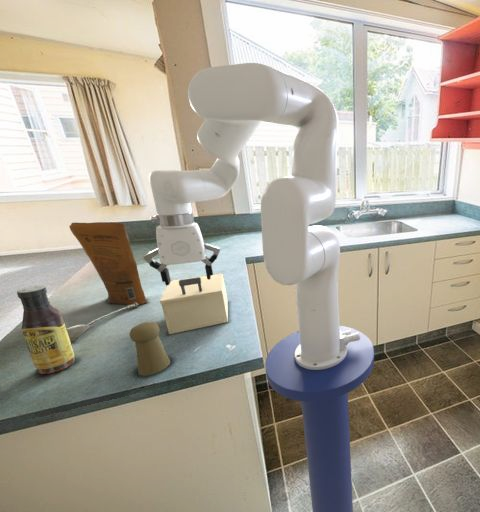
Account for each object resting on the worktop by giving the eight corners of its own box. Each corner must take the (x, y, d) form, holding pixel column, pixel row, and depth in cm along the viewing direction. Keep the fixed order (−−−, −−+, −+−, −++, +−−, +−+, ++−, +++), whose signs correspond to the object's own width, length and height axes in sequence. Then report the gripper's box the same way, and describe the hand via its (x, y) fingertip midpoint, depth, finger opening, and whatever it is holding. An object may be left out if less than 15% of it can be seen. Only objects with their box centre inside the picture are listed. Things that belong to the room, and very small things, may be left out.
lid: (222, 293, 84) (219, 276, 83) (160, 303, 78) (155, 286, 77) (223, 275, 97) (220, 261, 96) (169, 283, 91) (166, 267, 90)
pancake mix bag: (137, 309, 95) (113, 224, 87) (92, 303, 99) (64, 221, 91) (157, 300, 102) (136, 220, 93) (113, 295, 105) (89, 217, 97)
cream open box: (227, 322, 88) (222, 292, 85) (168, 334, 82) (160, 302, 79) (227, 302, 100) (223, 275, 97) (176, 311, 94) (169, 283, 91)
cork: (143, 379, 65) (130, 336, 62) (134, 368, 68) (121, 326, 65) (174, 364, 70) (163, 324, 66) (165, 355, 73) (154, 315, 70)
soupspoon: (46, 346, 77) (66, 350, 76) (41, 336, 76) (62, 339, 75) (128, 305, 98) (145, 308, 97) (126, 296, 96) (143, 299, 95)
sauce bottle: (29, 378, 65) (-7, 296, 59) (52, 360, 71) (21, 284, 65) (66, 373, 67) (34, 293, 61) (85, 356, 73) (57, 281, 66)
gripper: (130, 225, 70) (147, 291, 75) (214, 219, 77) (224, 280, 82) (138, 219, 76) (153, 281, 81) (215, 215, 83) (224, 271, 89)
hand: (189, 280), depth 82 cm, fingers open, 9 cm apart
